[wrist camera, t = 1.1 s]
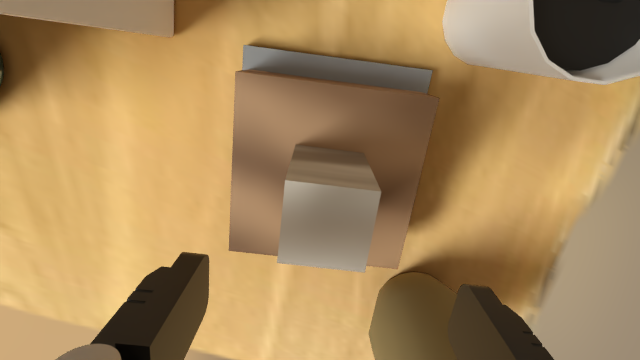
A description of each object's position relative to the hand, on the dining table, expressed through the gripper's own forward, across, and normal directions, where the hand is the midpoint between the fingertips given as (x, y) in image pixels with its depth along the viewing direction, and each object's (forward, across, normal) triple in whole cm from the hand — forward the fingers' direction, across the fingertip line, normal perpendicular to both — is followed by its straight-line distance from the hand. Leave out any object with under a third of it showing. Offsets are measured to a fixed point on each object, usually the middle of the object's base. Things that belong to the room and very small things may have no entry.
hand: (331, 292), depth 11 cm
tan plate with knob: (+14, 0, 0) cm, 14 cm away
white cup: (+15, -9, -11) cm, 20 cm away
